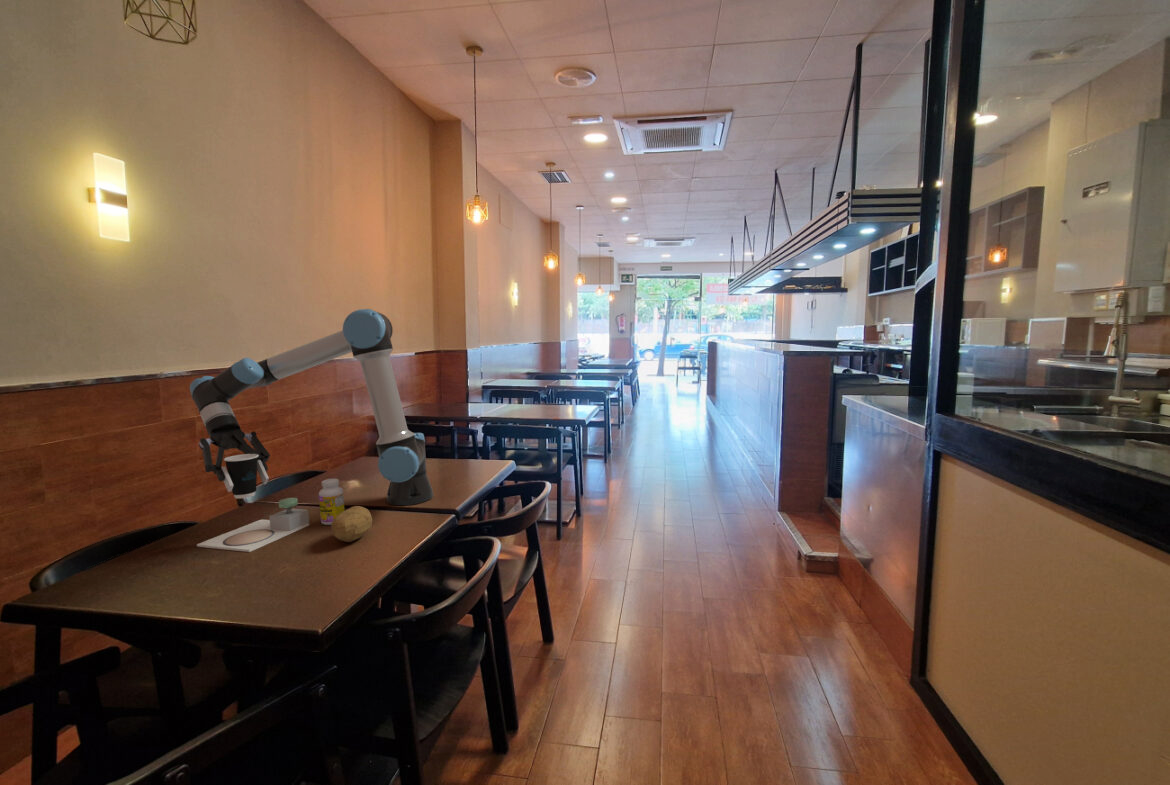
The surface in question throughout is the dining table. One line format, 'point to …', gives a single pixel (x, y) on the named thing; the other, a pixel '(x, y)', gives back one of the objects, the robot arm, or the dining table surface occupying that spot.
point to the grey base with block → (260, 532)
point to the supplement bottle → (330, 501)
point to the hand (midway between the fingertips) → (249, 484)
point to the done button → (288, 504)
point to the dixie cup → (243, 474)
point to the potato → (351, 524)
